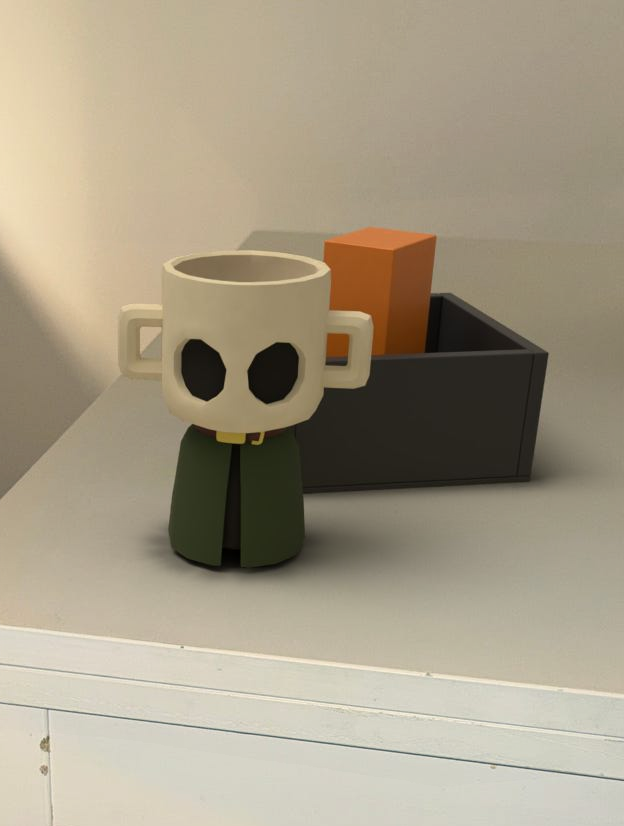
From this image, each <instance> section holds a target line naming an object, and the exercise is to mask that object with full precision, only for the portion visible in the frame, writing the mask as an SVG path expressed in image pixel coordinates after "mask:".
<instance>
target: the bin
mask: <svg viewBox="0 0 624 826" xmlns="http://www.w3.org/2000/svg"><path fill="white" fill-rule="evenodd" d="M549 355H550V353H549V352H548V351H547V350H545V349H543V348H542V347H540V346H539V345H537V344H535V343H533V342H532V341H531V340H529V339H527V338H526V337H524V336H522V335H521V334H519V333H517V332H516V331H514V330H513V329H511V328H510V327H508V326H506V325H505V324H503V323H501V322H499V321H498V320H496V319H495V318H493V317H491V316H490V315H489V314H487V313H485V312H484V311H481V310H480V309H478V308H476V307H475V306H473V305H472V304H470V303H468V302H467V301H465V300H464V299H462V298H461V297H459V296H457V295H455V294H454V293H452V292H431V296H430V305H429V315H428V325H427V334H426V344H425V353H418V354H392V355H371V363H370V375H369V377H368V380H367V382H366V385H365V386H362V387H358V388H355V389H349V388H325V387H324V393H323V397H322V399H321V401H320V403H319V405H318V407H317V409H316V411H315V412H314V413H313V414H312V416H311V417H310V418H309V419H308V420H305V421H302V422H300V423H297V424H294V425H292V426H289V427H290V429H291V430H292V432H293V434H294V437H295V439H296V441H297V444H298V446H299V454H300V466H301V478H302V489H303V495H309V494H310V495H311V494H325V493H326V494H328V493H345V492H347V493H348V492H367V491H385V490H403V489H423V488H442V487H444V488H445V487H461V486H480V485H496V484H497V485H501V484H516V483H530V482H531V477H532V476H531V475H532V469H533V464H534V458H535V457H534V456H535V449H536V443H537V436H538V429H539V422H540V415H541V409H542V402H543V395H544V388H545V381H546V376H547V375H546V374H547V369H548V361H549ZM347 363H348V356H340V357H326V362H325V365H328V366H347Z"/></svg>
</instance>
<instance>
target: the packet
mask: <svg viewBox="0 0 624 826" xmlns="http://www.w3.org/2000/svg"><path fill="white" fill-rule="evenodd" d="M437 238H438V237H437V235H436V234H433V233H424V232H416V231H409V230H408V231H406V230H399V229H392V228H383V227H382V228H381V227H374V226H368V227H365V228H361V229H359V230H358V229H357V230H355V231H352V232H351V231H350V232H348V233H345V234H342V235H339V236H334V237H332V238H328V239H325V240H324V241H323V242H324V244H323V259H322V262H324V263H325V264H326V265H327V266H328V267H329V268H330V269H331V289H330V303H329V310H333V311H360V312H363V313H365V314H368V315H371V319H372V323H373V339H372V351H371V355H392V354H418V353H425V344H426V334H427V325H428V315H429V305H430V296H431V293H432V284H433V276H434V275H433V274H434V264H435V256H436V255H435V254H436V247H437V246H436V245H437ZM349 338H350V337H349V335H348V334H334V333H327V347H326V357H340V356H348V351H349Z"/></svg>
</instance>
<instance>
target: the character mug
mask: <svg viewBox="0 0 624 826" xmlns="http://www.w3.org/2000/svg"><path fill="white" fill-rule="evenodd" d="M161 271H162V273H161V304H159V303H156V304H155V303H154V304H153V303H128V304H125V305H122V306H121V307H120V310H119V313H118V316H117V366H118V369H119V372H120V374H121V376H122V377H124V378H127V379H129V380H135V381H140V380H141V381H159V382H160V390H161V394H162V396H163V400H164V402H165V405H166V408H167V409H168V413H169V414H170V415H173V416H174V417H176V418H178V419H180V420H181V421H182V422H185V423H189V424H190V425H189V426H188V427H187V429H186V430H185V432H184V434H183V436H182V439H181V440H180V444H179V451H178V457H177V463H176V470H175V475H174V483H173V487H172V493H171V502H170V511H169V520H168V529H167V532H168V539H169V543H170V548H172V549H174V550H175V551H176V552H177V553H179V554H180V555H182V557H185V558H186V559H188V560H190V561H194V562H199V563H202V564H205V565H209V566H221V565H222V563H221V562H222V552H223V549H228V550H240V567H241V568H249V569H250V568H256V567H263V566H271V565H276V564H279V563H281V562H283V561H286V560H288V559H290V558H292V557H294V556H297V555H298V553H299V551H300V549H301V547H302V545H303V543H304V541H305V539H306V527H305V526H306V525H305V500H304V494H303V489H302V478H301V466H300V454H299V446H298V444H297V441H296V439H295V437H294V434H293V432H292V430H291V429H290V427H289V426H292V425H294V424H297V423H300V422H302V421H305V420H308V419H309V418H310V417H311V416H312V414H313V413H314V412H315V411H316V409H317V407H318V405H319V403H320V401H321V399H322V397H323V393H324V387H325V388H349V389H355V388H358V387H362V386H365V385H366V382H367V380H368V377H369V375H370V363H371V351H372V339H373V323H372V319H371V315H368V314H365V313H363V312H360V311H333V310H329V303H330V289H331V269H330V268H329V267H328V266H327V265H326V264H325V263H324V262H323V261H321V260H317V259H314V258H313V257H310V256H309V257H308V256H305V255H304V256H303V255H298V254H292V253H286V252H279V251H265V250H253V249H250V250H249V249H248V250H247V249H246V250H245V249H244V250H243V249H242V250H217V251H215V250H214V251H206V252H194V253H190V254H185V255H181V256H176V257H173V258H171V259H169V260H167V261H166V262H164V263H163V264H162V270H161ZM143 327H147V328H161V347H160V348H161V353H160V354H161V358H153V357H151V358H147V357H142V356H141V328H143ZM327 333H334V334H348V335H349V337H350V338H349V351H348V363H347V366H328V365H325V362H326V347H327Z"/></svg>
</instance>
